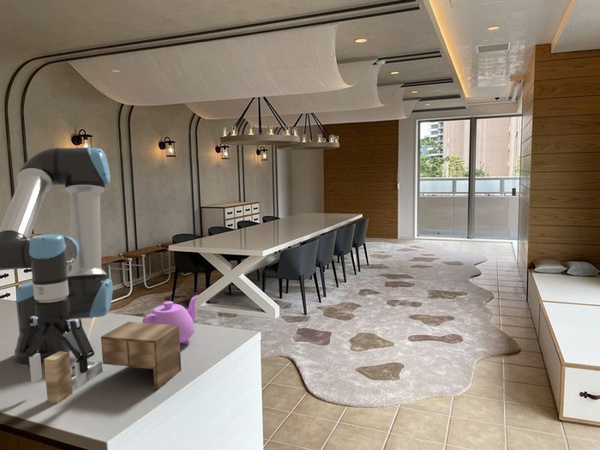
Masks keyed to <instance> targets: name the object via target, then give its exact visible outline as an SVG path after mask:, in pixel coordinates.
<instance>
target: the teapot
mask: <svg viewBox="0 0 600 450" xmlns="http://www.w3.org/2000/svg"><path fill="white" fill-rule="evenodd" d="M198 297H199V294H197V295H194V296H192V297H191V299H190V300H189V304H188V310H187V309H186V308H185V307H184V306H183V305H181V304H178V303H174V302H173V301H171V300H169V301H168V300H166V301H164V302H162V305H159V306H156V307H155V308H154V309H153V310H152V311H151V312H150V313H149V314H147V315H145V316H144V317H143V318H142V322H141V323H152V324H167V325H179V337H180V345H181V344H182V345H187V344H189V343H190V340H189V339H190V338H191V337H192V336H193V335H194V333H195V325H194V322H195V321H196V317H197V312H196V301H197V298H198Z"/></svg>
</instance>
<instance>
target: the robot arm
mask: <svg viewBox="0 0 600 450" xmlns="http://www.w3.org/2000/svg"><path fill="white" fill-rule="evenodd" d="M16 182H17V186H16V188H15V191H14V194H13V196H12V198H11V201H10V203H9V205H8V207H7V210H6V213H5V215H4V217H3V220H2V222H1V224H0V271H8V270H20V269H31V280H30V281H27V282H25V283H23V284H20V285H18V287H17V288H16V290H15V297H16V300H15V303H16V312H17V313H16V314H17V322H18V323H17V324H18V338H17V342H16V348H15V350H14V353H13V355H14V360H15V362H17V363H19V364H27V367H28V368H29V370H30V372H29V373H30V382H31V383H36V382H38V381H39V380H41V379H43V371H42V363H44V359H45V358H47V357H49V356H51V355H53V354H55V353H57V352H59V351H62V352H69V353H70V352H71V354H72V355H73V356H74V358H75V359H76V360H75V361H74V365H75V374H76V386H77V387H78V388H81V387H82V386H84V385H86V384H87V383H88V382H87V379H86V371H87V370H88V363H87V362H88V359H90V358H91V357H93V356H94V355H95V351H94V349H93V347H92V344H91V343H90V341H89V338H88V336H87V334H86V332H85V330H84V328H83V323H82V320H83V319H94V318H99V317H101V318H102V317H105V316H106V315H107V314H108V313H109V311H110V309H111V307H112V301H113V300H112V299H113V291H114V287H113V286H114V285H113V281H112V279H110V278H107V277H108V276H107V275H108V274H107V272H106V271H104V270H103V269H102V237H101V236H102V235H101V233H102V231H101V226H102V225H101V195H102V193H103V192H105V190H106V185H108V184H110V183H111V173H110V167H109V162H108V158H107V155H106V153H105V151H103V149H101V148H98V147H88V146H87V147H60V148H59V147H51V148H46V149H43V150H41V151H39V152H38V153H35V154H33V156H31V157H30V158H29V159H28V160H27V161H26V162H25V163H24V164H23V165H22V166H21V168H19V171H18V173H17V177H16ZM56 185H57V186H58V185H59V186H64V188H65V191H66V192H67V193H68V194H69V195H70V236H68V235H61V234H56V233H49V234H39V235H34V236H32V233H33V231H34V227H35V224H36V221H37V219H38V216H39V213H40V211H41V207H42V205H43V202H44V199H45V196H46V194H47V193H48V192H49V191H50V190H51V189H52V187H53V186H56ZM31 236H32V237H31ZM69 265H71V269H70V272H69V273H68V268H67V267H68V266H69Z"/></svg>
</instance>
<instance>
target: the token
mask: <svg viewBox="0 0 600 450" xmlns="http://www.w3.org/2000/svg"><path fill="white" fill-rule="evenodd" d="M87 363H88V367H90V366H92V365H93V364H95V363H96V362H94V361H87ZM75 375H76V374H75V364H74V365H73V366H72V367H71V378H72V377H74V376H75Z"/></svg>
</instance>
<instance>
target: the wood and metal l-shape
mask: <svg viewBox="0 0 600 450" xmlns="http://www.w3.org/2000/svg"><path fill="white" fill-rule="evenodd" d="M70 355H71V354H70V351H69V352H62V351H59V352H57V353H55V354H53V355H51V356H49V357H47V358H45V359H44V362H43V365H44V376H45V386H46V387H45V388H46V396H47V403H51V404H52V403H53V404H59V403H61V402H62V401H64V400H66V399H67V398H69V397H70V396H71V395H73V392H74V391H75V390H77V389H78V388H79V387H77V386H76V375H75V376H74V377H72V367H71V358H70V357H71V356H70ZM94 363H95V364H93V365H92V366H90V367H88V370H87V371H86V379H87V381H88V382H89V381H91V380H92V379H94V378H95V377H97V376H99V375H100V374H101V373H103V361H102V360H101V361H96V362H94ZM90 379H91V380H90Z"/></svg>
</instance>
